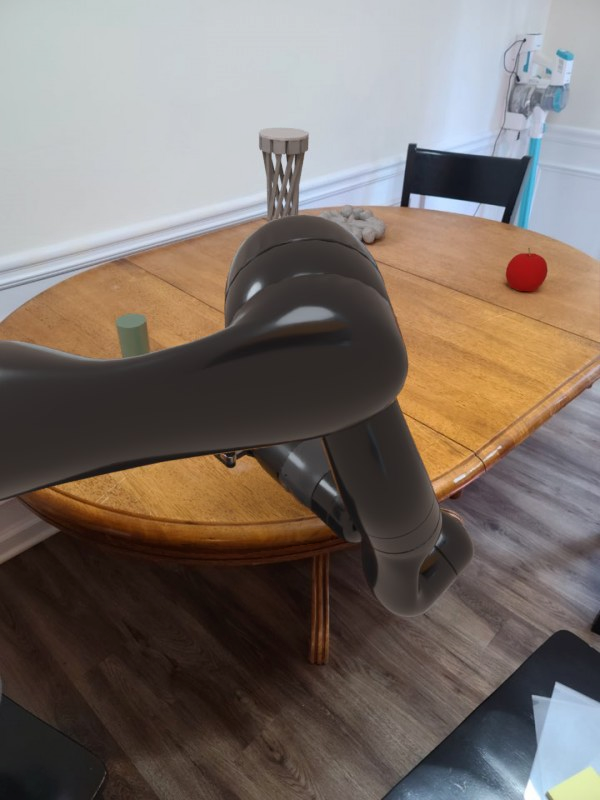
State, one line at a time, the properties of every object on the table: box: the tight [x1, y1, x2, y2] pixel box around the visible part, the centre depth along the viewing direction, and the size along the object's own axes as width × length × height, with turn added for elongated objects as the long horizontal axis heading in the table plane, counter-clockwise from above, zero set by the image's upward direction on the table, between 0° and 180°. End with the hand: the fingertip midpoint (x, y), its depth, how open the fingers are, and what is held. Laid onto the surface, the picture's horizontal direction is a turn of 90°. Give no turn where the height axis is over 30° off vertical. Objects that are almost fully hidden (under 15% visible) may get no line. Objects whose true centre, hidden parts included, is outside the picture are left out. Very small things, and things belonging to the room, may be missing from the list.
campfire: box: [317, 204, 387, 244], centre depth 164 cm, size 22×21×6 cm
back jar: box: [115, 313, 152, 358], centre depth 98 cm, size 5×5×12 cm
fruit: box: [505, 247, 549, 293], centre depth 135 cm, size 9×9×10 cm
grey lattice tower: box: [258, 127, 310, 223], centre depth 120 cm, size 14×13×35 cm
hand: (229, 397), depth 73 cm, fingers open, 8 cm apart
